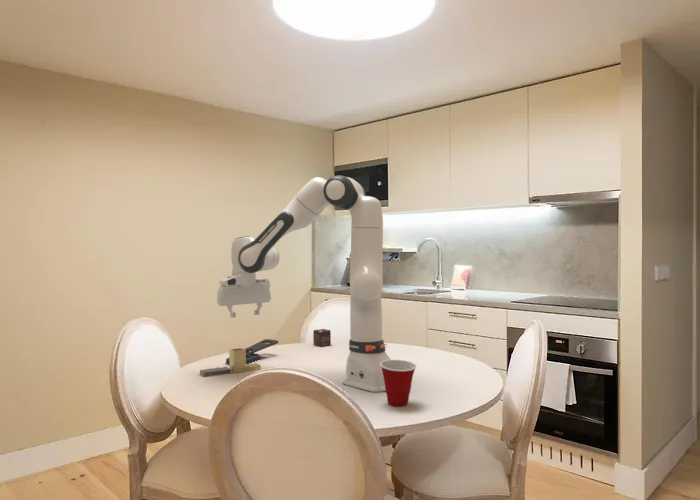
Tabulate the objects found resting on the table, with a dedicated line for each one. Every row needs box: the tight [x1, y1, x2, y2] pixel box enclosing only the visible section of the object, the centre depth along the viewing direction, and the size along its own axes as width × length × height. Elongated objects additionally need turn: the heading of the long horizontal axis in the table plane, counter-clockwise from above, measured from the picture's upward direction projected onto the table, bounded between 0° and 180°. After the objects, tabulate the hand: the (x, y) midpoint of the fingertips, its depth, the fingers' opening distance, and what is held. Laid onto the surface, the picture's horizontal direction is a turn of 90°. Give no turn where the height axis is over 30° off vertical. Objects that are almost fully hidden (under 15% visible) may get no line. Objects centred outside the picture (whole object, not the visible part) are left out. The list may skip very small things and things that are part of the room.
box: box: [312, 328, 332, 348], centre depth 249 cm, size 6×6×7 cm
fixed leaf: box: [199, 366, 232, 378], centre depth 195 cm, size 5×15×7 cm, turn 121°
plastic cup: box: [380, 359, 418, 407], centre depth 156 cm, size 11×11×12 cm
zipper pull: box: [225, 338, 279, 366], centre depth 218 cm, size 9×7×25 cm
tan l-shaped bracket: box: [228, 347, 262, 374], centre depth 200 cm, size 11×5×8 cm, turn 121°
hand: (245, 316), depth 199 cm, fingers open, 8 cm apart
